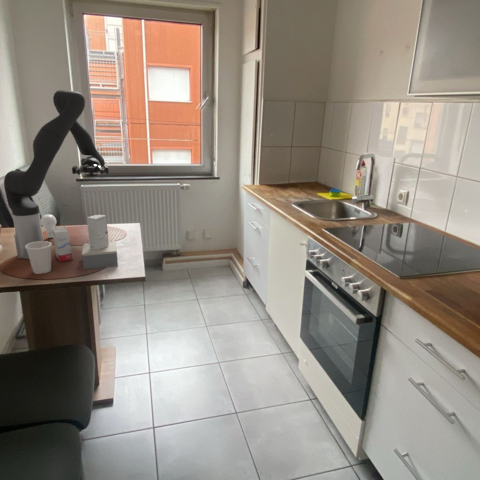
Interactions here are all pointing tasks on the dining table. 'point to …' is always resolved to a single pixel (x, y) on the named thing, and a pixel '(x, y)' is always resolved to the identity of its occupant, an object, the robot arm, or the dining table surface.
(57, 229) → the ink box
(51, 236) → the lightbulb
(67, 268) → the dining table surface
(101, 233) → the skincare box
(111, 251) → the plinth
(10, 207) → the robot arm
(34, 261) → the dixie cup
